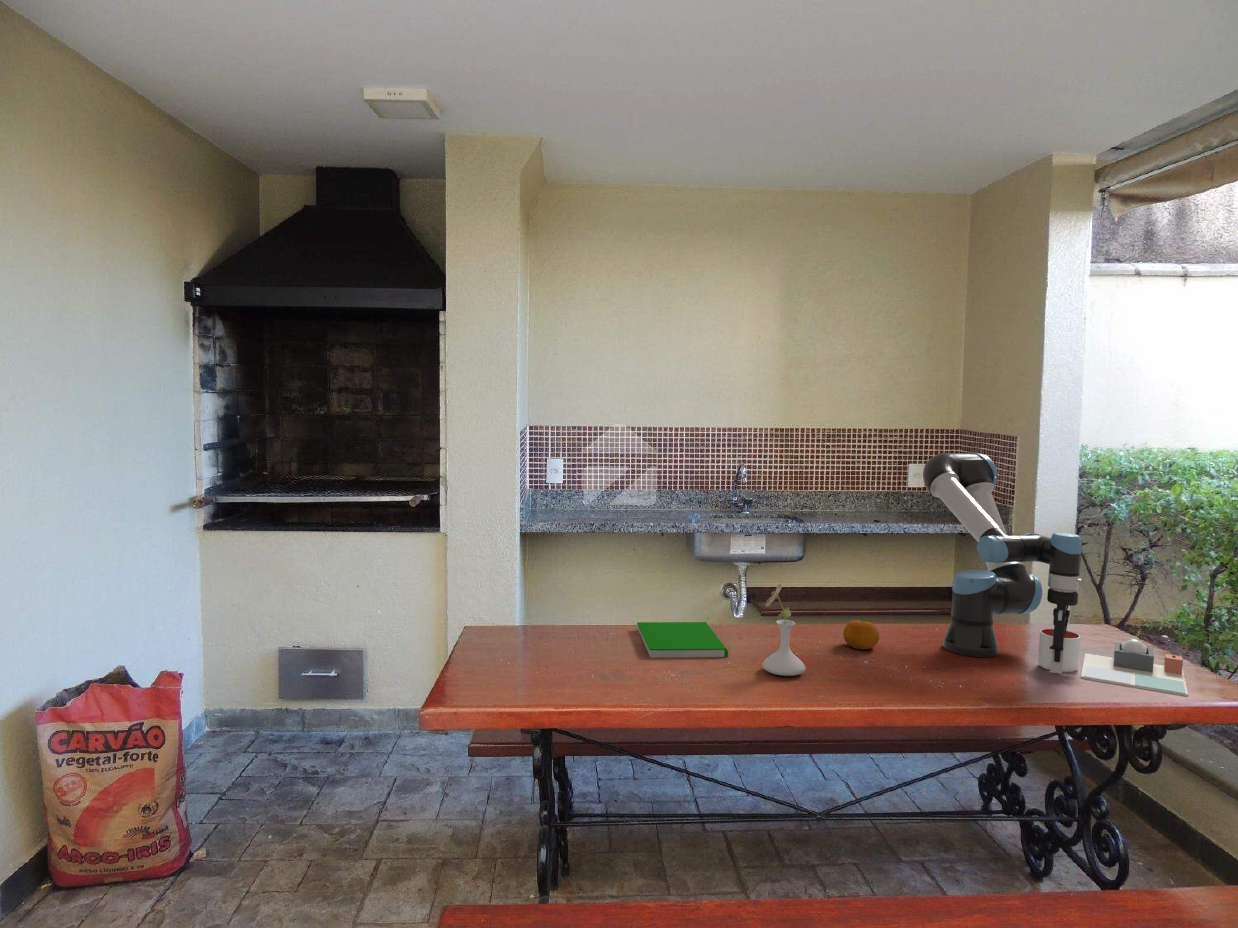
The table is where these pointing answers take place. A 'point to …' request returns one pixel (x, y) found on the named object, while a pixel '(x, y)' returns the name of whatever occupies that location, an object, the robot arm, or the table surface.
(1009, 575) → the robot arm
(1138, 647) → the dome button
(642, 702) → the table surface
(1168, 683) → the game board
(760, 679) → the table surface
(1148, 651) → the dome housing
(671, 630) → the book
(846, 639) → the fruit
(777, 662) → the flower in vase
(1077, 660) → the cup
